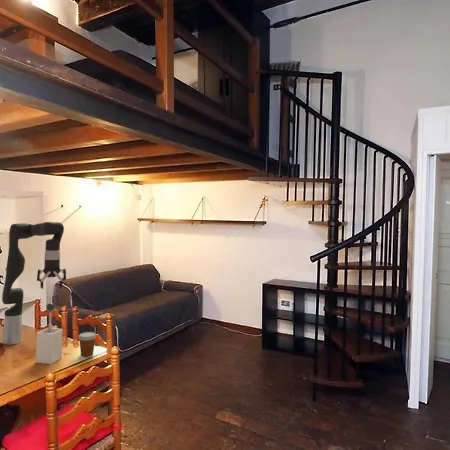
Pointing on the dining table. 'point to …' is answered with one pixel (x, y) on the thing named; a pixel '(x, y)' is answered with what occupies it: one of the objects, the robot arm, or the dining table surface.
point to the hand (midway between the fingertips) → (51, 288)
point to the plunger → (50, 308)
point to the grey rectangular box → (49, 346)
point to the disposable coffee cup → (87, 343)
